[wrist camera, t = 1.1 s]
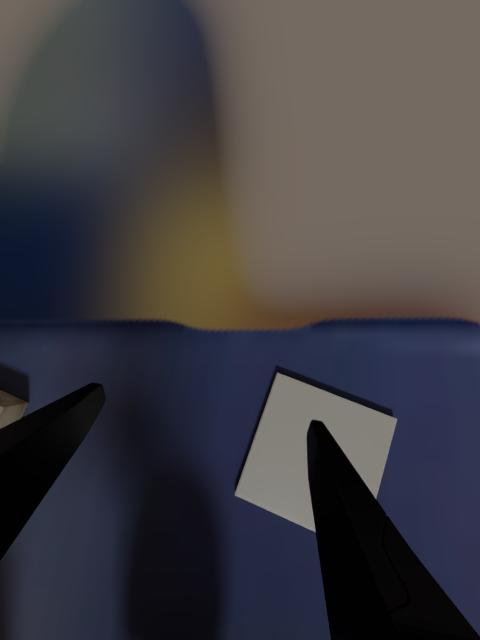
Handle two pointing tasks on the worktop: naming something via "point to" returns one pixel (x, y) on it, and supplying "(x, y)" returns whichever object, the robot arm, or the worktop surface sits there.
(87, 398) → the robot arm
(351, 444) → the place mat
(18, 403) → the bottle holder
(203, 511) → the worktop surface
